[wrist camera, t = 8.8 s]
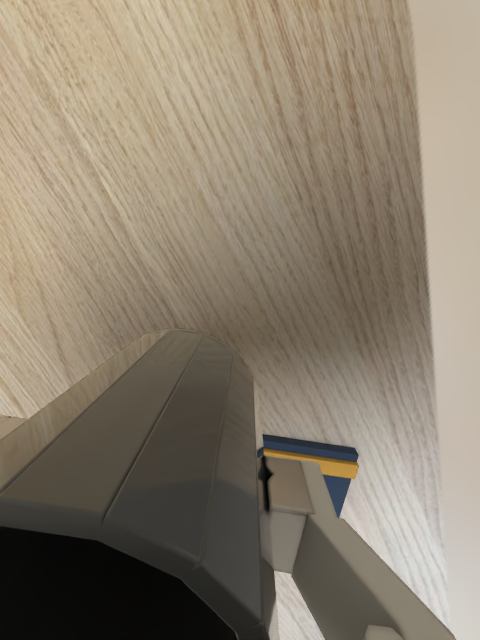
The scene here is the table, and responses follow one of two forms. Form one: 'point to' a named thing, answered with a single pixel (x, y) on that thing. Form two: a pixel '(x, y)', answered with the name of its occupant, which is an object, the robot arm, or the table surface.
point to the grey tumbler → (141, 502)
